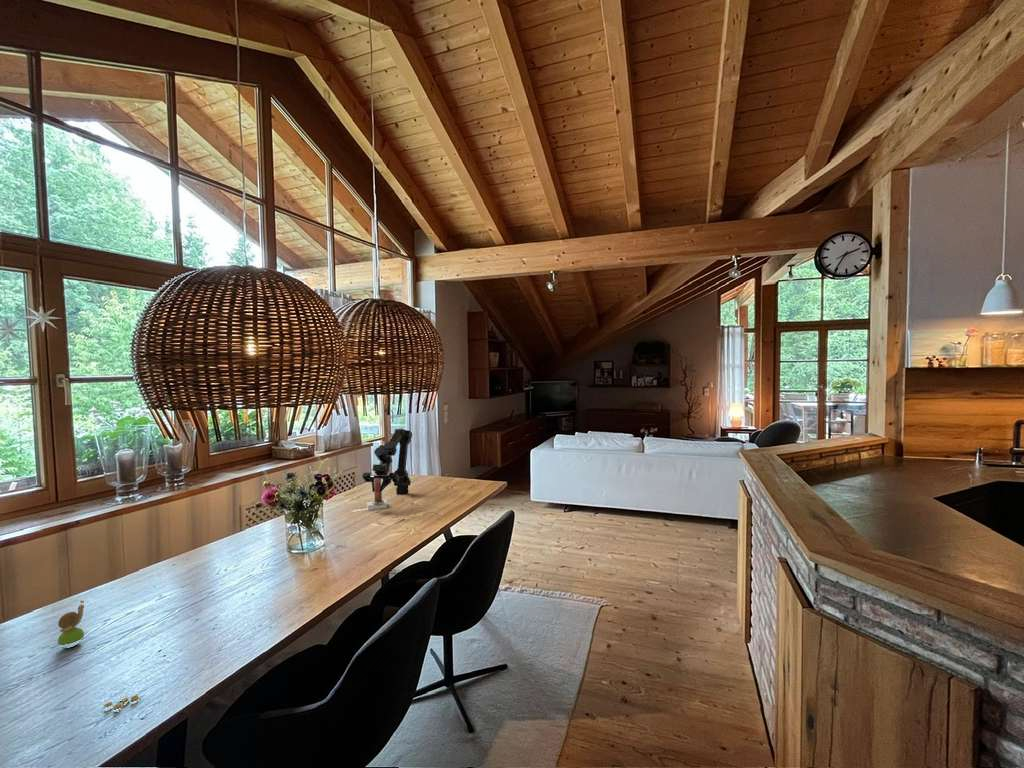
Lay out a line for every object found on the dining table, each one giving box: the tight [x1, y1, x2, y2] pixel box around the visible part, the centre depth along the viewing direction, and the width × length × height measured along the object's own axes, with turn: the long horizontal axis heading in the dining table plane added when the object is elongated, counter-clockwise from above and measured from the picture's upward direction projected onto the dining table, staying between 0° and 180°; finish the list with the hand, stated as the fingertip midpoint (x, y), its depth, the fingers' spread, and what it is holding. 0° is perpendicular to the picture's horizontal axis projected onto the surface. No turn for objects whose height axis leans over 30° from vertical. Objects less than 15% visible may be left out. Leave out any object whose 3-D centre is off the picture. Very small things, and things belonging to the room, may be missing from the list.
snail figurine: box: [57, 600, 85, 646], centre depth 131 cm, size 5×6×12 cm
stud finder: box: [366, 499, 388, 511], centre depth 243 cm, size 10×6×3 cm, turn 113°
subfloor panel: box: [350, 508, 368, 513], centre depth 245 cm, size 19×17×1 cm
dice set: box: [103, 694, 139, 710], centre depth 107 cm, size 5×5×2 cm
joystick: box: [372, 478, 384, 506], centre depth 234 cm, size 5×5×14 cm
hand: (376, 491), depth 233 cm, fingers closed on joystick, 4 cm apart
